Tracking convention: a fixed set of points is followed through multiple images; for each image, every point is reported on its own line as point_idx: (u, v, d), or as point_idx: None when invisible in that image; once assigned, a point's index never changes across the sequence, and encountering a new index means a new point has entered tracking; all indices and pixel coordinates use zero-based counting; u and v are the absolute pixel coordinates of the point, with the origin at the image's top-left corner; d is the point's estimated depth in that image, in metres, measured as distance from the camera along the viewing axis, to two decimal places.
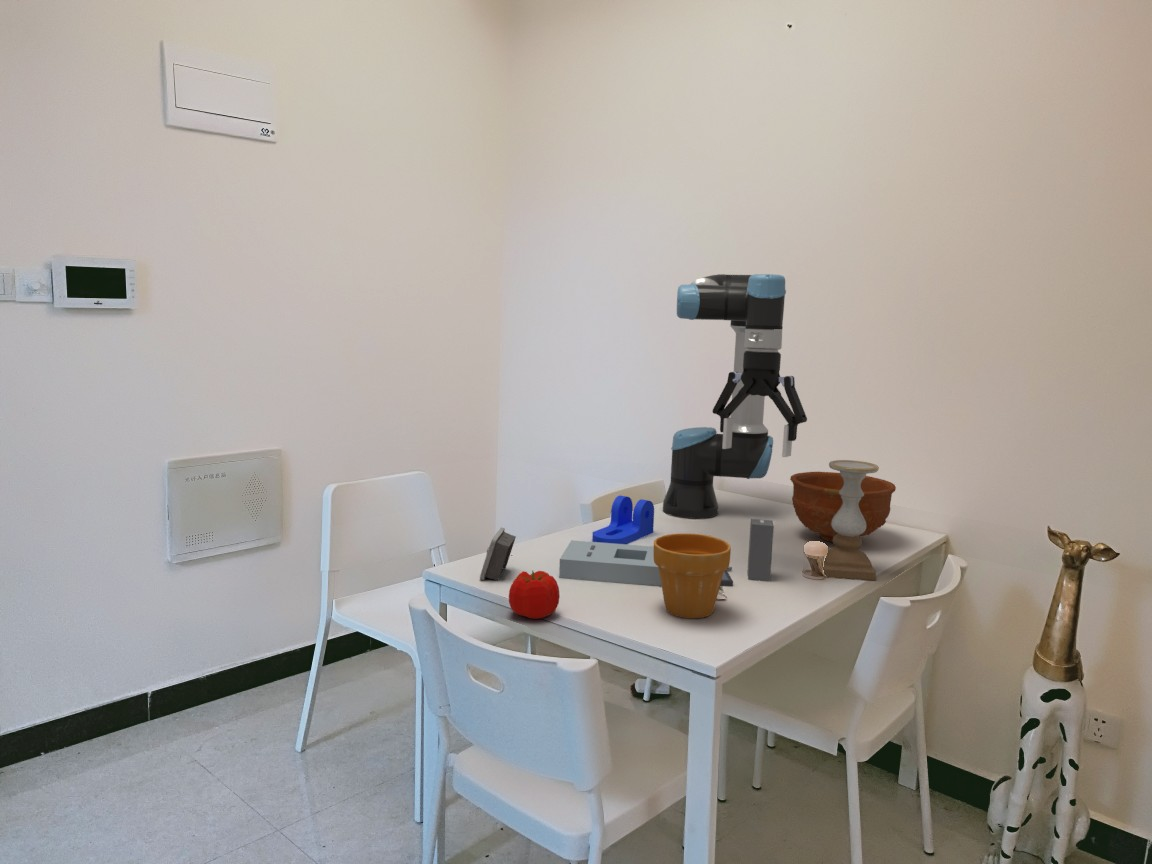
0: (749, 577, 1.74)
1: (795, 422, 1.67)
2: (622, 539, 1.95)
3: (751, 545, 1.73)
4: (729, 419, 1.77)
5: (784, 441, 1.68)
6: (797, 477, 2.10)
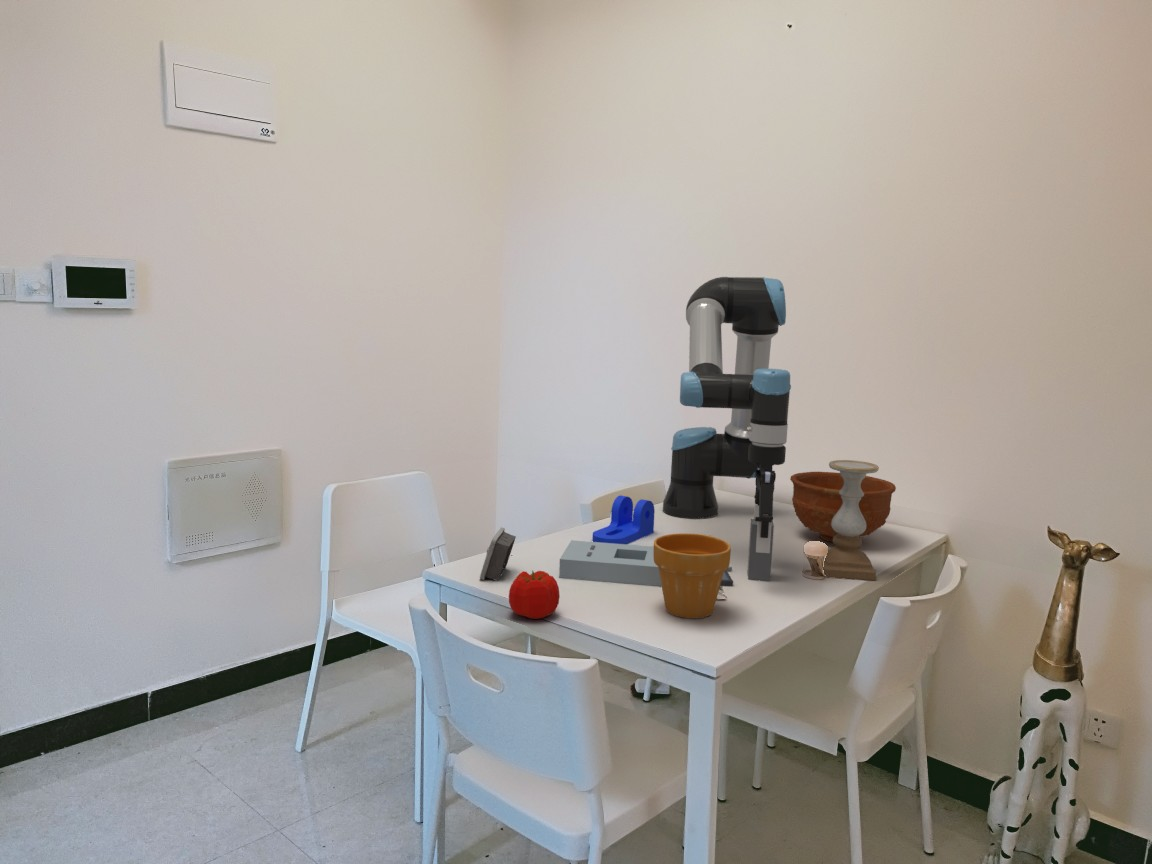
0: (749, 577, 1.74)
1: None
2: (622, 539, 1.95)
3: (751, 545, 1.73)
4: (759, 507, 1.80)
5: None
6: (797, 477, 2.10)
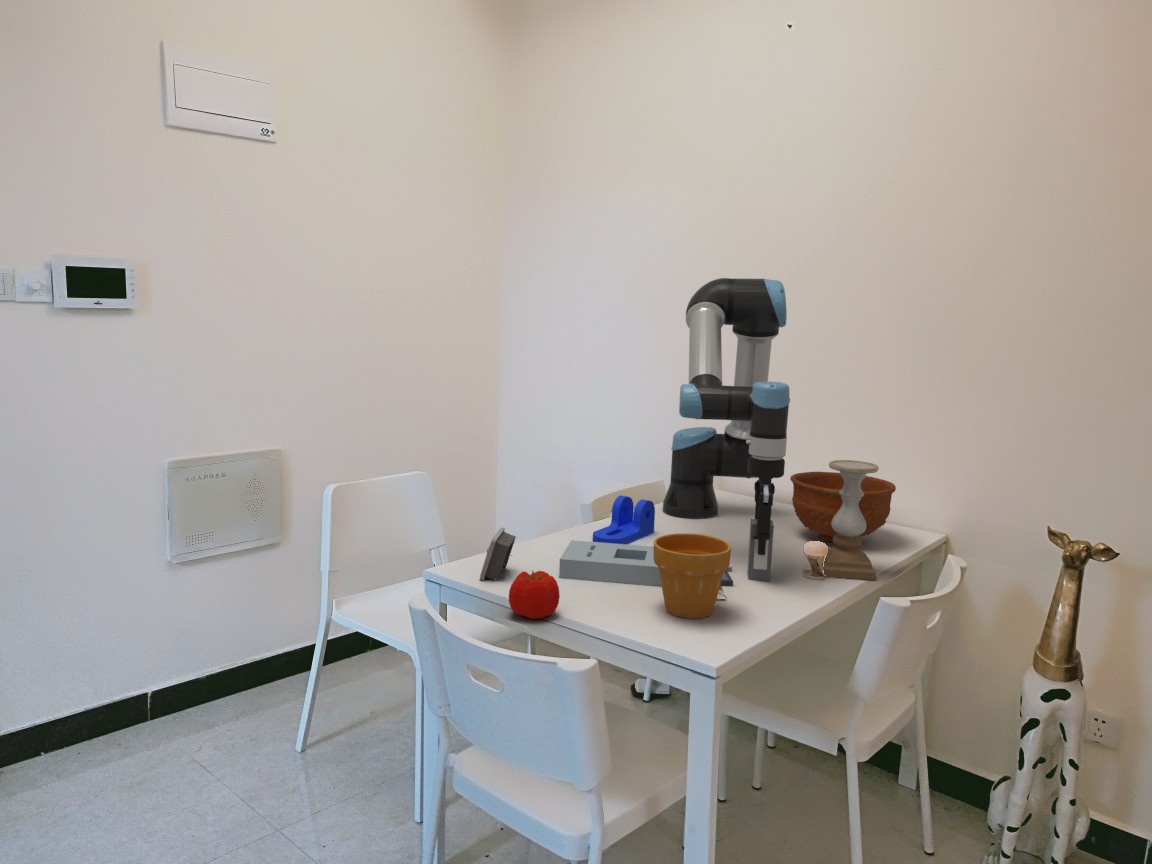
0: (749, 577, 1.74)
1: (759, 538, 1.70)
2: (622, 539, 1.95)
3: (751, 545, 1.73)
4: None
5: (754, 553, 1.73)
6: (797, 477, 2.10)
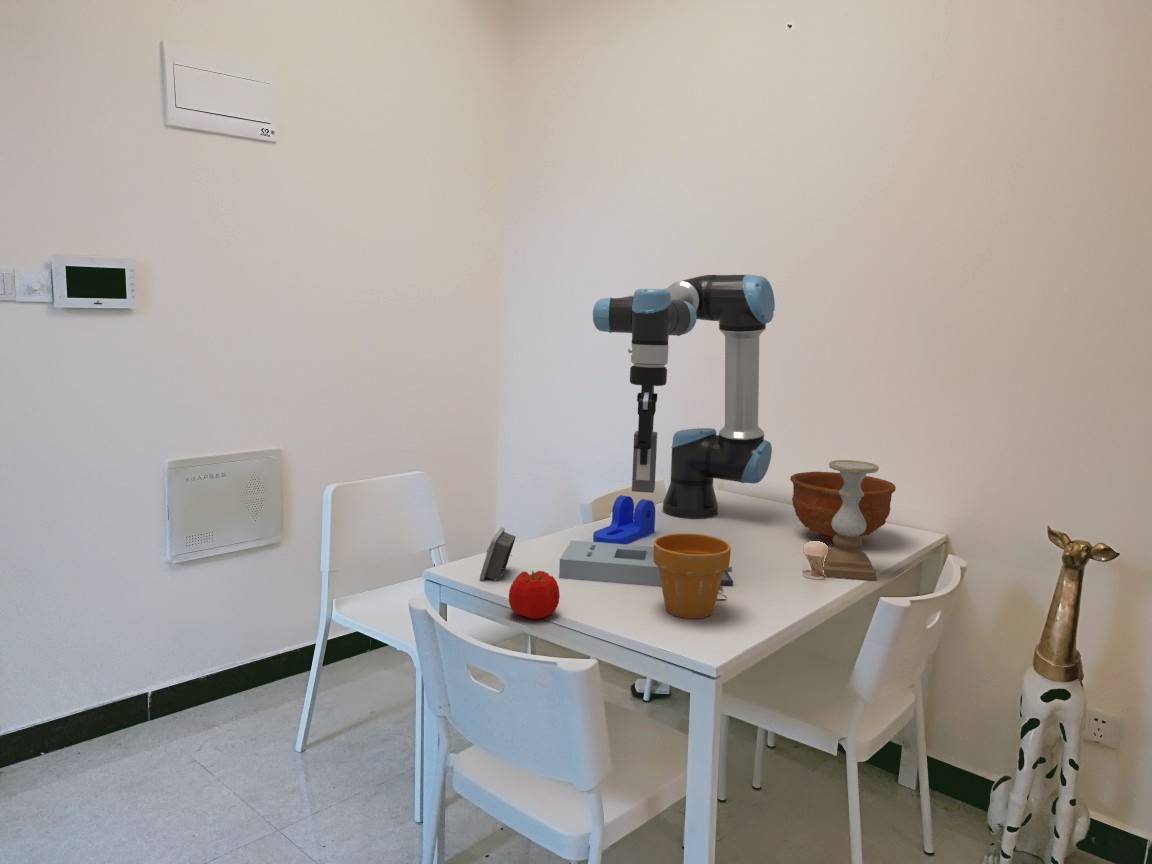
0: (633, 489, 1.71)
1: (640, 448, 1.68)
2: (623, 539, 1.96)
3: (634, 456, 1.70)
4: None
5: (637, 464, 1.70)
6: (797, 477, 2.10)
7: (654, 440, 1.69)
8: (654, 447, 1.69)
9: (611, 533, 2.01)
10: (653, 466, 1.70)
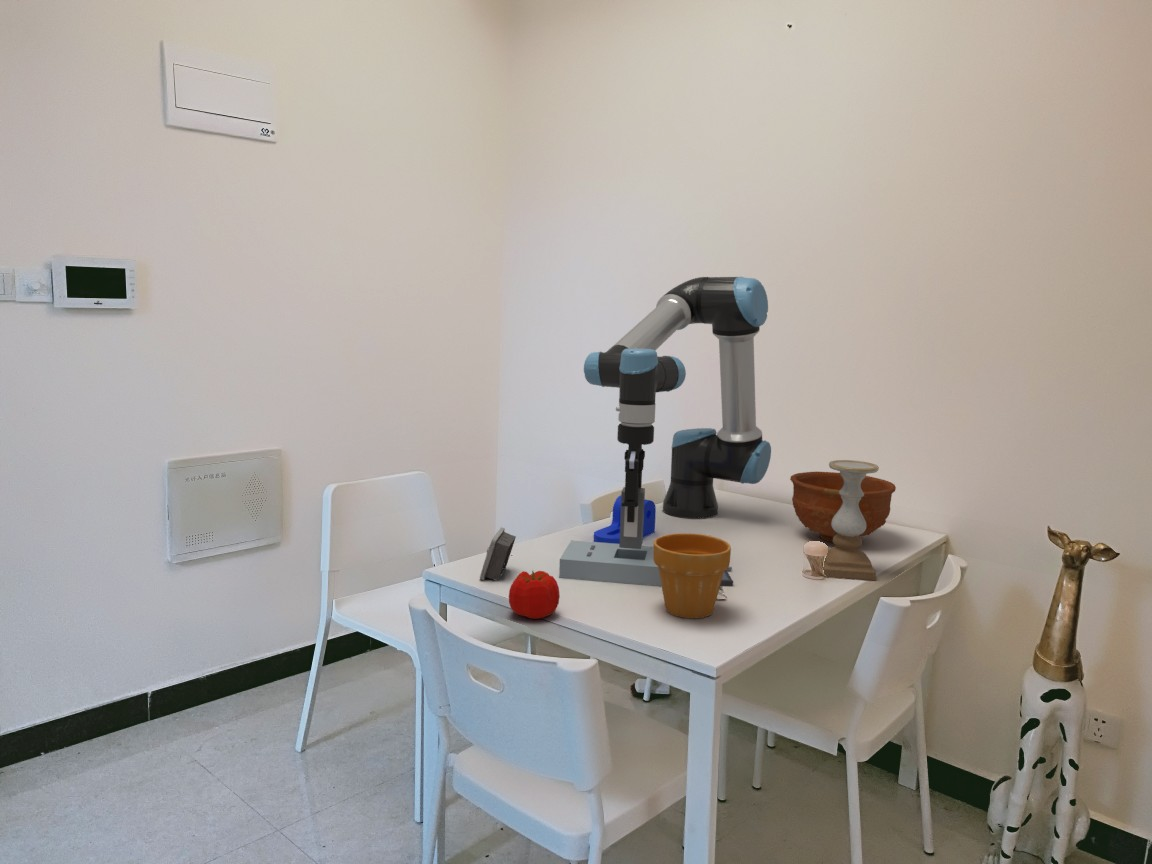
0: (620, 545, 1.73)
1: (627, 505, 1.70)
2: None
3: (621, 513, 1.72)
4: None
5: None
6: (797, 477, 2.10)
7: (641, 497, 1.71)
8: (641, 504, 1.71)
9: (611, 533, 2.01)
10: (640, 523, 1.72)
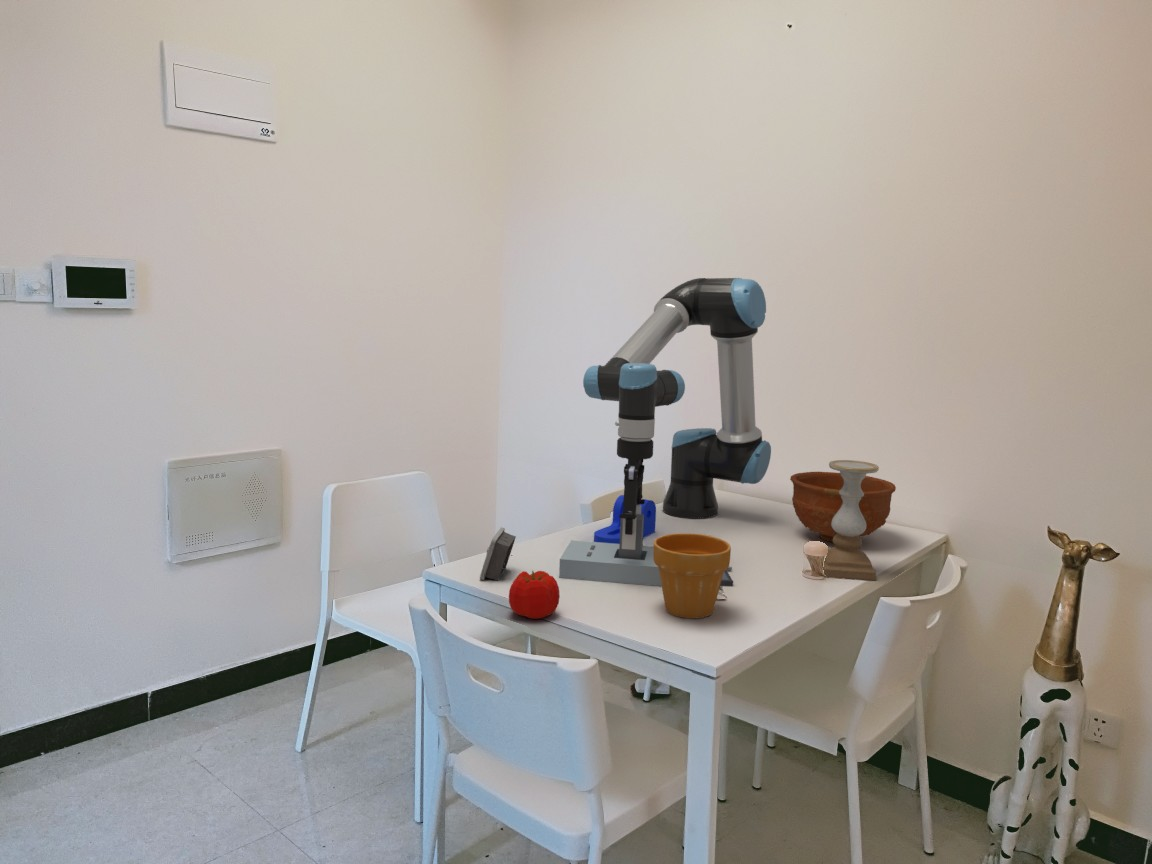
0: None
1: None
2: None
3: (620, 539, 1.73)
4: None
5: None
6: (797, 477, 2.10)
7: (640, 524, 1.72)
8: (640, 531, 1.72)
9: (612, 533, 2.01)
10: (639, 549, 1.73)
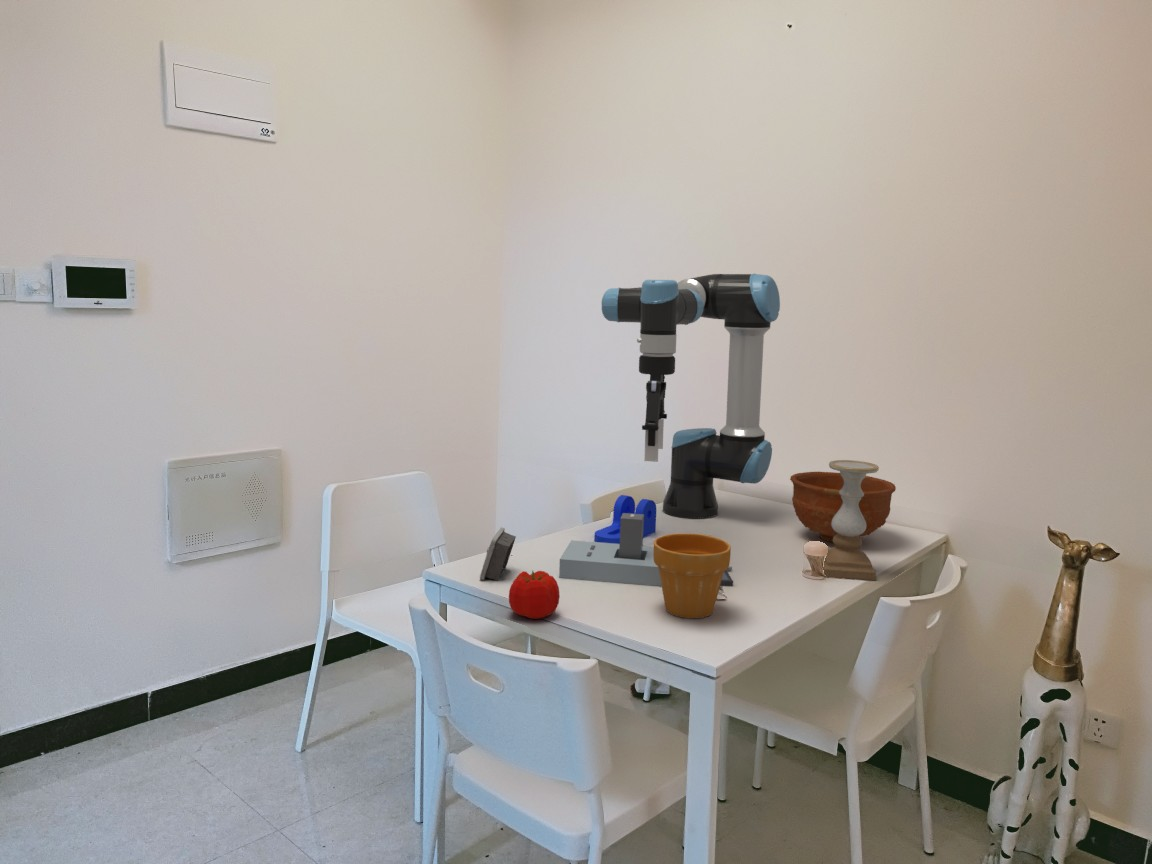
0: None
1: (648, 427, 1.67)
2: None
3: (620, 539, 1.73)
4: None
5: (645, 445, 1.70)
6: (797, 477, 2.10)
7: (640, 524, 1.72)
8: (640, 531, 1.72)
9: (612, 533, 2.01)
10: (639, 549, 1.73)
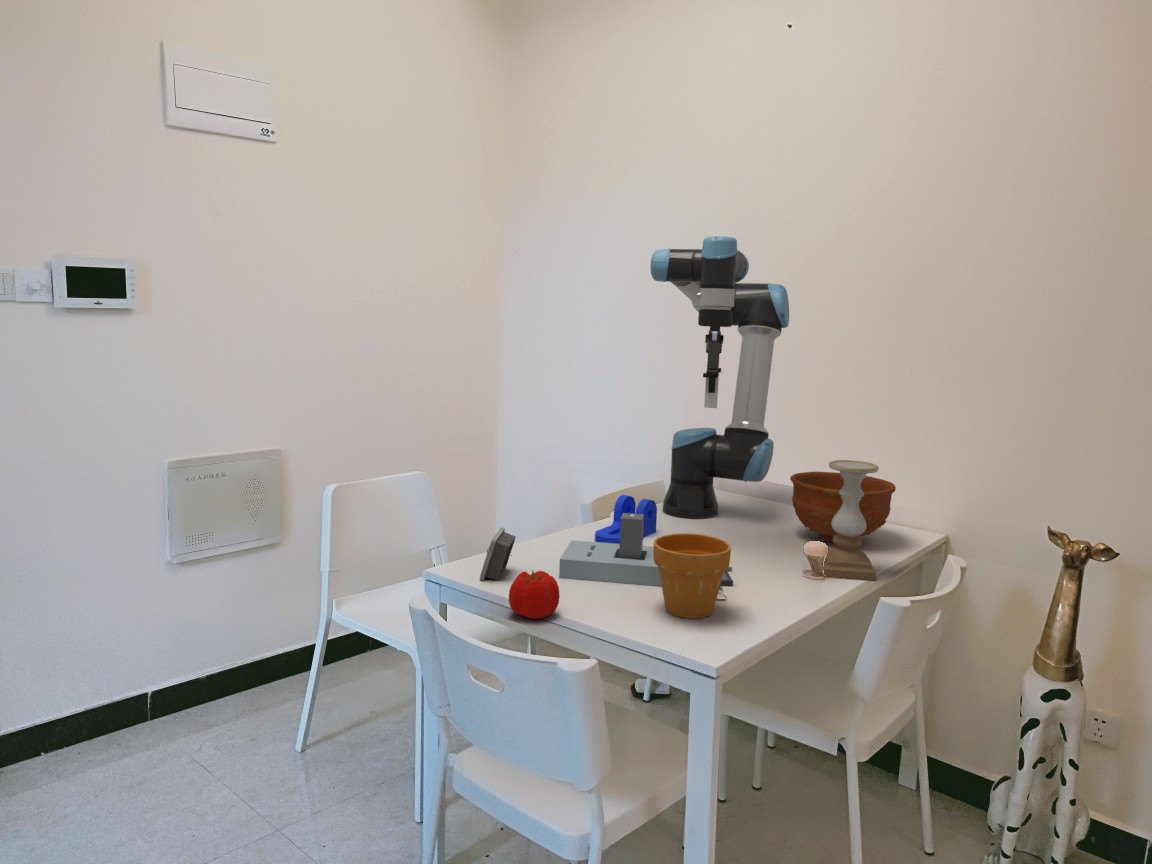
0: None
1: (709, 374, 1.77)
2: None
3: (620, 539, 1.73)
4: None
5: (705, 392, 1.79)
6: (797, 477, 2.10)
7: (640, 524, 1.72)
8: (640, 531, 1.72)
9: (613, 532, 2.01)
10: (639, 549, 1.73)
